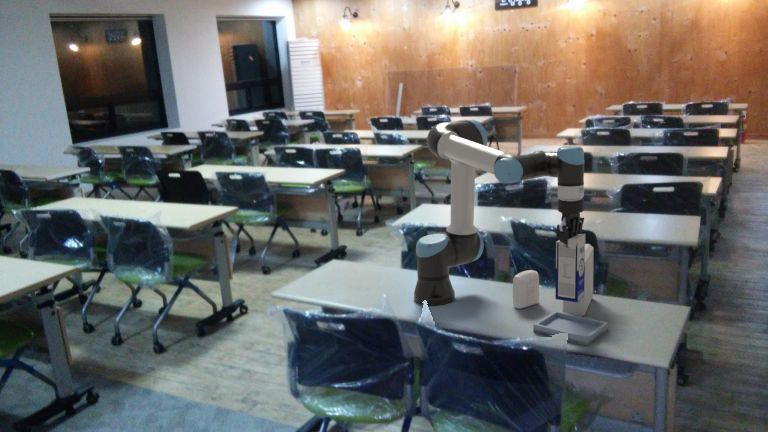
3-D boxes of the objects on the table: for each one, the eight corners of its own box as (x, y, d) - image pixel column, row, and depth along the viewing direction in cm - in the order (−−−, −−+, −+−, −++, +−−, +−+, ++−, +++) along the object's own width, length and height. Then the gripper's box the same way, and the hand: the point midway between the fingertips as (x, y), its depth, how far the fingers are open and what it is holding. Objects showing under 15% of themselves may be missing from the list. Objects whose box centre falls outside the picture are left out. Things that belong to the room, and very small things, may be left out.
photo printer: (532, 299, 223) (531, 266, 220) (541, 302, 220) (540, 269, 217) (511, 306, 218) (510, 273, 215) (520, 310, 214) (519, 276, 212)
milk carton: (577, 302, 186) (578, 237, 182) (555, 299, 190) (555, 235, 186) (584, 296, 192) (585, 232, 188) (562, 293, 195) (563, 230, 192)
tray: (533, 331, 196) (533, 324, 195) (555, 317, 206) (555, 310, 205) (587, 345, 184) (587, 338, 183) (608, 330, 193) (608, 322, 193)
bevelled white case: (570, 295, 225) (570, 242, 221) (593, 297, 221) (594, 243, 217) (558, 316, 207) (558, 258, 202) (584, 319, 203) (584, 260, 199)
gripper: (571, 203, 178) (571, 281, 183) (592, 195, 187) (592, 270, 192) (548, 201, 183) (548, 277, 188) (569, 193, 193) (569, 266, 198)
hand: (570, 273), depth 190 cm, fingers closed
